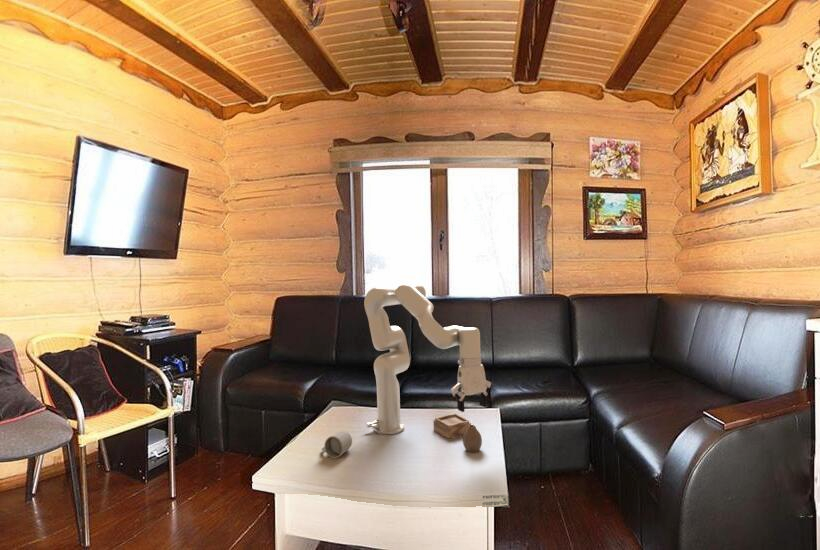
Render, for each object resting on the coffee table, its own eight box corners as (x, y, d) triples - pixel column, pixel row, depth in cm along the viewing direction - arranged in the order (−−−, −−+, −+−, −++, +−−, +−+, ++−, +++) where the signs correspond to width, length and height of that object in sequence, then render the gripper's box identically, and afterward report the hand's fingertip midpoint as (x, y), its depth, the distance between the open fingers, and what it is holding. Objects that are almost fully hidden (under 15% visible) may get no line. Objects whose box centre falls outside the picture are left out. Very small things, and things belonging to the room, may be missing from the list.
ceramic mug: (353, 450, 151) (353, 429, 151) (342, 459, 144) (342, 438, 144) (329, 446, 155) (328, 426, 155) (317, 455, 148) (316, 434, 147)
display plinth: (448, 439, 159) (447, 426, 159) (433, 429, 168) (433, 417, 168) (471, 433, 164) (470, 421, 164) (455, 424, 173) (455, 412, 173)
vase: (470, 455, 144) (469, 431, 144) (459, 448, 150) (458, 424, 150) (486, 451, 147) (485, 427, 147) (474, 444, 153) (473, 421, 153)
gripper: (456, 366, 141) (458, 416, 141) (495, 360, 149) (497, 406, 149) (444, 362, 148) (446, 410, 148) (483, 356, 156) (484, 401, 156)
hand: (472, 408), depth 148 cm, fingers open, 9 cm apart
